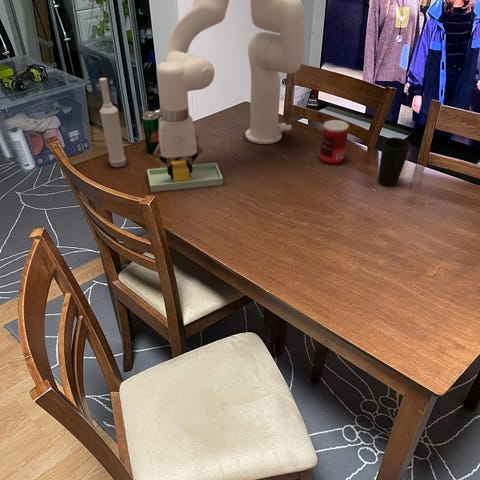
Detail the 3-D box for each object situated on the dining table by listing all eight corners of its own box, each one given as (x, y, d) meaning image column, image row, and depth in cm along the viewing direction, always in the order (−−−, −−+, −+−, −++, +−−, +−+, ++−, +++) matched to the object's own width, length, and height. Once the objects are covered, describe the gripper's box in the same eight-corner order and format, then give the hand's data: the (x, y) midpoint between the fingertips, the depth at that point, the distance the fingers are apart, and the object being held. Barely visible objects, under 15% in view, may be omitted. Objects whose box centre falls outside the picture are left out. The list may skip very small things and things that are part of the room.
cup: (381, 173, 147) (390, 135, 138) (404, 181, 143) (415, 142, 135) (369, 182, 143) (378, 143, 134) (393, 191, 139) (403, 151, 131)
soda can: (153, 155, 155) (148, 118, 146) (143, 150, 157) (138, 113, 149) (165, 150, 157) (161, 113, 149) (155, 146, 160) (150, 109, 151)
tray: (216, 168, 148) (216, 162, 147) (223, 184, 141) (222, 178, 140) (147, 175, 145) (147, 169, 143) (151, 192, 138) (150, 185, 136)
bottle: (117, 169, 148) (102, 83, 130) (106, 164, 150) (89, 79, 133) (130, 163, 151) (116, 78, 133) (118, 158, 153) (103, 74, 136)
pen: (174, 160, 152) (174, 157, 152) (194, 136, 166) (194, 133, 165) (177, 160, 152) (177, 157, 151) (197, 136, 165) (197, 133, 165)
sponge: (186, 172, 145) (185, 160, 142) (190, 183, 140) (189, 170, 137) (171, 174, 144) (170, 161, 142) (174, 184, 139) (173, 171, 136)
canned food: (344, 155, 156) (350, 121, 148) (341, 166, 150) (347, 131, 143) (321, 152, 157) (325, 118, 150) (317, 162, 152) (321, 128, 144)
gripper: (144, 121, 125) (153, 185, 138) (208, 116, 128) (210, 179, 141) (142, 110, 130) (150, 173, 143) (203, 105, 133) (206, 167, 146)
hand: (180, 175), depth 142 cm, fingers closed on sponge, 4 cm apart
